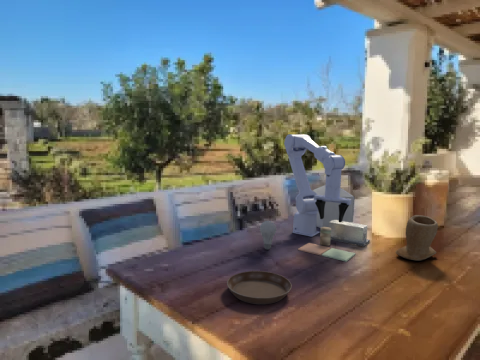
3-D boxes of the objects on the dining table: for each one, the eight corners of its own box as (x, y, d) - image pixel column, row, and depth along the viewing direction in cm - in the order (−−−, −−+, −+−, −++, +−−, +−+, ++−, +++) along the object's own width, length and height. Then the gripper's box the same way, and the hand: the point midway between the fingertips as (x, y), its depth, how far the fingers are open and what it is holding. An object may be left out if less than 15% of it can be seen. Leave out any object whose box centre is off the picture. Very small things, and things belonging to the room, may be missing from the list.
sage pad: (321, 255, 128) (321, 254, 128) (331, 249, 135) (331, 247, 135) (346, 261, 123) (346, 260, 123) (355, 254, 130) (355, 253, 130)
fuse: (317, 244, 141) (318, 228, 140) (322, 241, 144) (323, 226, 143) (327, 246, 138) (328, 230, 137) (331, 244, 141) (332, 228, 141)
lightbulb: (274, 253, 130) (275, 223, 128) (258, 251, 131) (258, 222, 130) (276, 247, 136) (277, 219, 134) (260, 246, 137) (261, 218, 135)
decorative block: (306, 220, 177) (308, 180, 174) (334, 219, 181) (336, 180, 178) (323, 229, 161) (325, 186, 159) (353, 227, 166) (356, 185, 163)
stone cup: (423, 266, 119) (427, 223, 117) (390, 256, 129) (393, 215, 127) (445, 258, 128) (450, 217, 126) (413, 248, 138) (417, 210, 135)
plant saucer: (252, 274, 111) (253, 265, 111) (303, 291, 100) (303, 281, 100) (213, 294, 98) (213, 284, 97) (266, 316, 87) (267, 305, 86)
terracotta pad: (298, 250, 134) (298, 248, 134) (308, 244, 141) (308, 242, 141) (320, 255, 128) (320, 254, 128) (330, 248, 135) (330, 247, 135)
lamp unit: (325, 238, 148) (326, 222, 147) (331, 234, 154) (332, 218, 153) (363, 246, 139) (365, 229, 138) (369, 242, 144) (370, 225, 143)
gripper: (311, 185, 140) (309, 219, 142) (347, 189, 132) (345, 225, 134) (318, 183, 146) (317, 215, 148) (354, 187, 138) (351, 221, 140)
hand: (331, 220), depth 141 cm, fingers open, 7 cm apart
